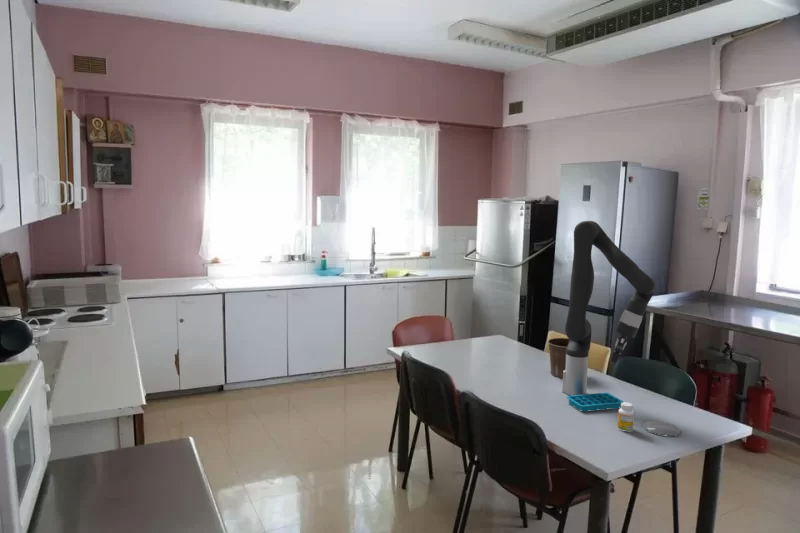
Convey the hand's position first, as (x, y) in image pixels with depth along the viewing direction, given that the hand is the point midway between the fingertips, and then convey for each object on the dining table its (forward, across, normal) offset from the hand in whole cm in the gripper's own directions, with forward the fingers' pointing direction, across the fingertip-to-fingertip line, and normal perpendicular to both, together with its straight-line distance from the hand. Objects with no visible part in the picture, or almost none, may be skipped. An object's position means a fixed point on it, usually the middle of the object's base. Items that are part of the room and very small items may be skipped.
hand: (613, 360), depth 219 cm
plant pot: (+22, -37, -17) cm, 46 cm away
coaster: (+15, +12, +24) cm, 31 cm away
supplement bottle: (+20, +17, +13) cm, 29 cm away
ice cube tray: (+21, -2, 0) cm, 21 cm away
